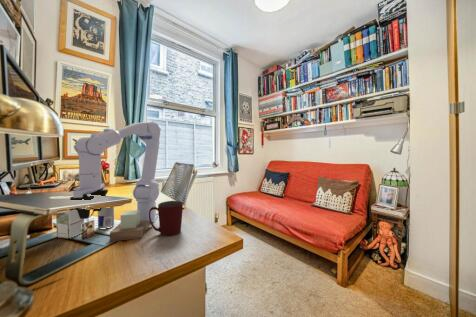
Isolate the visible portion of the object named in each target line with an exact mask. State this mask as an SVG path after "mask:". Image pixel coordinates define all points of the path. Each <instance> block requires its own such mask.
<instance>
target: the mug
mask: <svg viewBox="0 0 476 317" xmlns="http://www.w3.org/2000/svg"><path fill="white" fill-rule="evenodd" d="M183 206H184V203H183V201H180V200H167V201H163V202H159V203H158V204H157V206H156V207H152V208H151V209H150V210H149V220H150V223H149V224H150V225H151V227H152V229H153V230H154V231H156V232H159V233H160V235H161V236H163V237H172V236H177V235H179V234H180V233H181V232H182V224H183V223H182V222H183V221H182V220H183V209H184V208H183ZM154 209H156V212H157V213H158V214H157V215H158V223H159V225H158V226H159V227H156V226H155V225H154V222H153V223H152V221H151V217H150V212H151V211H152V210H154Z"/></svg>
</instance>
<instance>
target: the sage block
mask: <svg viewBox="0 0 476 317" xmlns="http://www.w3.org/2000/svg"><path fill="white" fill-rule="evenodd" d="M120 223H121V229H129V228H136V227H137V226H138V225H139V224H140V210H126V211H124V212H122V213H121V214H120Z"/></svg>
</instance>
